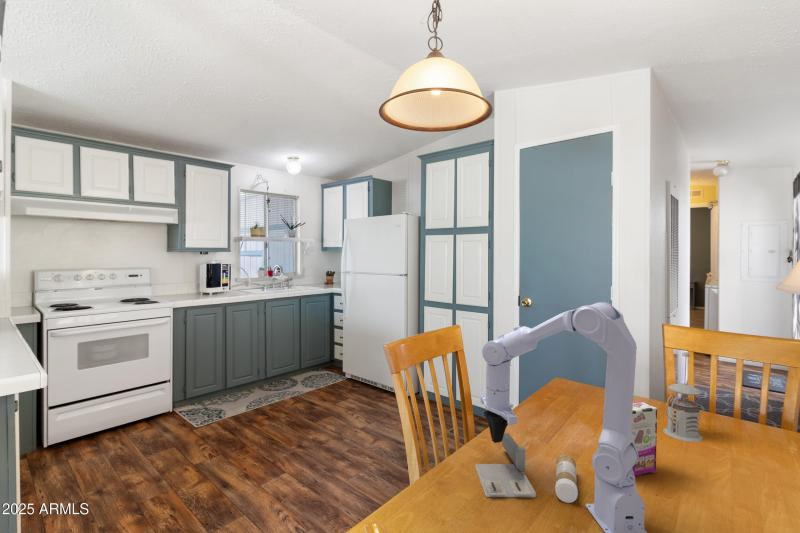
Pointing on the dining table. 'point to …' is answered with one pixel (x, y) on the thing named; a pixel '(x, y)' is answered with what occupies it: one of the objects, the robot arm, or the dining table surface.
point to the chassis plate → (504, 481)
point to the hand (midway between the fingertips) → (496, 441)
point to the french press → (683, 413)
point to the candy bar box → (644, 437)
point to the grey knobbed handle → (514, 451)
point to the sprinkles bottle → (566, 479)
